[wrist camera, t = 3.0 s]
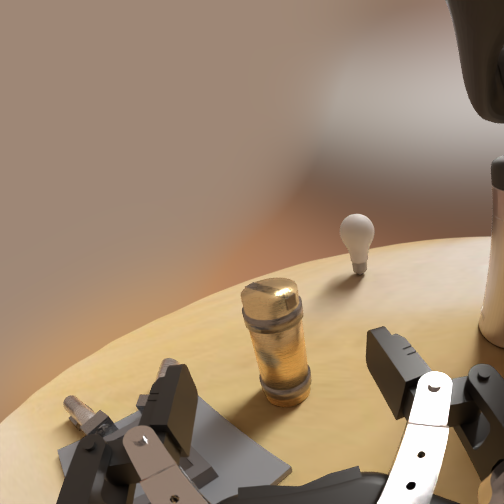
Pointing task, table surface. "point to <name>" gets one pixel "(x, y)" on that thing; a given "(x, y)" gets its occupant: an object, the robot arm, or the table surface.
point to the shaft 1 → (88, 418)
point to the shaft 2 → (161, 373)
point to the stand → (210, 457)
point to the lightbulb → (357, 240)
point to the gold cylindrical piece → (278, 339)
